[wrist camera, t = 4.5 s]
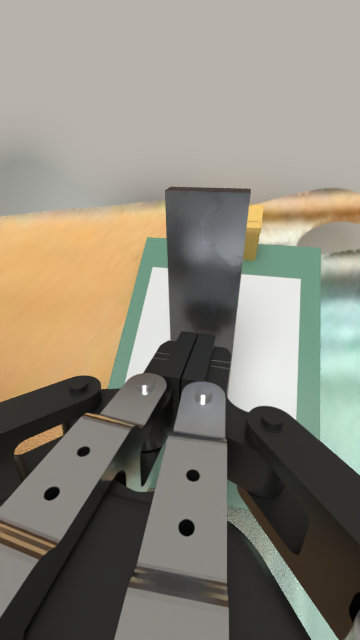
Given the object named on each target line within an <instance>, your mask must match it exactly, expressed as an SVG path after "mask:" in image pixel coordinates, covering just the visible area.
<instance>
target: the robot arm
mask: <svg viewBox="0 0 360 640" xmlns="http://www.w3.org/2000/svg"><path fill="white" fill-rule="evenodd" d="M230 363H231V353H230V352H229V350H228V349H227V348H223V347H216V335H211V334H202V333H199V334H198V333H194V332H186V331H181V333H180V335H179V336H178V338H177V340H176V341H169V340H168V341H166V342H165V343H163V344H161V345H160V346H159V348H158V350H157V351H156V353H155V354H154V356H153V358H152V359H151V361H150V363H149V364H148V366H147V367H146V369H145V371H144V372H143V373H142V374H137V375H134V376H132V377H131V378H129V379H128V380H127V381H126V383H125V384H124V385H123V386H122V387H121V388H116V389H101V383H100V381H99V380H98V379H96V378H95V377H92V376H76V377H72V378H69V379H66V380H63V381H61V382H58V383H55V384H52V385H49V386H46V387H43V388H40V389H38V390H35V391H32V392H29V393H26V394H23V395H20V396H17V397H15V398H12V399H9V400H6V401H3V402H0V640H311V638H310V637H309V635H308V633H307V632H306V630H305V628H304V627H303V625H302V623H301V622H300V620H299V618H298V617H297V615H296V613H295V612H294V610H293V608H292V607H291V605H290V603H289V601H288V600H287V598H286V596H285V595H284V593H283V591H282V590H281V588H280V586H279V585H278V583H277V581H276V580H275V578H274V576H273V575H272V573H271V571H270V570H269V568H268V566H267V564H266V563H265V561H264V559H263V558H262V556H261V555H260V553H259V552H258V550H257V549H256V548H255V546H254V545H253V544H252V542H251V541H250V540H249V539H248V538H247V537H246V536H245V535H244V534H243V533H242V532H241V531H240V530H239V529H238V528H237V527H235V526H234V525H233V524H232V523H230V522H229V521H227V480H229V481H231V482H233V483H235V484H237V490H238V493H239V495H240V497H241V498H242V500H243V501H244V503H245V504H246V506H247V507H248V508H249V510H250V511H251V513H252V514H253V516H254V517H255V519H256V520H257V522H258V523H259V524H260V526H261V527H262V529H263V530H264V532H265V533H266V535H267V536H268V538H269V539H270V540H271V542H272V543H273V545H274V546H275V548H276V549H277V551H278V552H279V554H280V555H281V556H282V558H283V559H284V561H285V562H286V564H287V565H288V567H289V568H290V569H291V571H292V572H293V574H294V575H295V577H296V578H297V580H298V581H299V583H300V584H301V585H302V587H303V588H304V590H305V591H306V593H307V594H308V596H309V597H310V599H311V600H312V601H313V603H314V604H315V606H316V607H317V609H318V610H319V612H320V613H321V615H322V616H323V617H324V619H325V620H326V622H327V623H328V625H329V626H330V628H331V629H332V630H333V632H334V633H335V635H336V636H337V638H338V639H339V640H360V475H359V474H358V473H356V472H355V471H354V470H353V469H352V468H351V467H349V466H348V465H347V464H346V463H345V462H344V461H343V460H341V459H340V458H339V457H338V456H337V455H336V454H334V453H333V452H332V451H331V450H330V449H329V448H327V447H326V446H325V445H324V444H323V443H322V442H321V441H319V440H318V439H317V438H316V437H315V436H314V435H312V434H311V433H310V432H309V431H308V430H307V429H306V428H304V427H303V426H302V425H301V424H300V423H299V422H297V421H296V420H295V419H294V418H293V417H292V416H291V415H289V414H288V413H287V412H285V411H283V410H281V409H279V408H276V407H272V406H258V407H255V408H253V409H252V410H250V411H249V412H247V411H244V410H242V409H240V408H238V407H236V406H235V405H234V404H232V403H231V402H230V400H229V399H228V397H227V389H228V380H229V372H230ZM61 424H62V430H63V436H61V437H59V438H57V439H55V440H52V441H50V442H48V443H46V444H44V445H42V446H39V447H37V448H35V449H33V450H31V451H28V452H26V453H24V454H21V455H14V451H15V449H16V447H17V446H18V445H19V444H20V443H21V442H22V441H24V440H26V439H28V438H31V437H33V436H35V435H37V434H40V433H42V432H44V431H47V430H49V429H51V428H54V427H56V426H58V425H61ZM167 438H168V440H167ZM166 441H167V444H166ZM163 455H164V456H163ZM162 457H163V460H162V464H161V468H160V472H159V476H158V480H157V484H156V489H155V492H147V491H148V489H149V486H150V484H151V482H152V480H153V477H154V475H155V473H156V471H157V468H158V466H159V464H160V461H161V459H162Z"/></svg>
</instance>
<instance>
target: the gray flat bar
mask: <svg viewBox="0 0 360 640" xmlns="http://www.w3.org/2000/svg"><path fill="white" fill-rule="evenodd" d="M250 193H251V189H235V188H199V187H169V188H168V189H166V190H165V202H166V230H167V259H168V287H169V315H170V341H176V340H177V338H178V336H179V335H180V333H181V331H186V332H194V333H198V334H199V333H202V334H211V335H216V347H223V348H227V349H228V350H229V352H230V353H231V362H232V353H233V344H234V335H235V326H236V317H237V308H238V299H239V290H240V282H241V273H242V264H243V255H244V246H245V237H246V228H247V219H248V210H249V202H250ZM230 370H231V363H230ZM229 379H230V372H229ZM228 388H229V380H228ZM227 397H228V389H227Z"/></svg>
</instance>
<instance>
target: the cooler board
mask: <svg viewBox="0 0 360 640" xmlns="http://www.w3.org/2000/svg"><path fill="white" fill-rule="evenodd" d="M262 214H263V206H259V205H249V210H248V219H247V228H246V237H245V246H244V255H243V264H242V273H241V282H240V290H239V299H238V308H237V317H236V326H235V335H234V344H233V353H232V362H231V370H230V379H229V388H228V399H229V400H230V402H231V403H232V404H234V405H235V406H236V407H238V408H240V409H242V410H244V411H247V412H249V411H250V410H252V409H253V408H255V407H258V406H272V407H276V408H279V409H281V410H283V411H285V412H287V413H288V414H289V415H291V416H292V417H293V418H294V419H295V420H296V421H297V422H299V423H300V424H301V425H302V426H303V427H304V428H306V429H307V430H308V431H309V432H310V433H311V434H312V435H314V436H315V437H316V438H317V439H318V440H319V441H320V283H321V248H311V247H296V246H280V245H263V244H258V241H259V235H260V232H261V225H262ZM168 340H169V341H170V315H169V287H168V259H167V239H165V238H149V237H147V240H146V244H145V248H144V252H143V255H142V259H141V263H140V267H139V271H138V275H137V279H136V282H135V286H134V290H133V294H132V298H131V302H130V305H129V309H128V313H127V317H126V321H125V325H124V328H123V332H122V336H121V340H120V344H119V348H118V351H117V355H116V359H115V363H114V367H113V371H112V374H111V378H110V382H109V386H108V389H116V388H121V387H122V386H123V385H124V384H125V383H126V381H127V380H128V379H129V378H131V377H132V376H134V375H137V374H142V373H143V372H144V371H145V369H146V367H147V366H148V364H149V363H150V361H151V359H152V358H153V356H154V354H155V353H156V351H157V350H158V348H159V346H160V345H161V344H163V343H165V342H166V341H168ZM167 440H168V438H167ZM166 444H167V441H166ZM163 456H164V455H163ZM162 460H163V457H162V459H161V461H160V464H159V466H158V468H157V471H156V473H155V475H154V477H153V480H152V482H151V484H150V486H149V488H153V489H156V484H157V480H158V476H159V472H160V468H161V464H162ZM227 506H231V507H236V508H240V509H245V510H249V508H248V507H247V506H246V504H245V503H244V501H243V500H242V498H241V497H240V495H239V493H238V490H237V484H235V483H233V482H231V481H229V480H227ZM249 511H250V510H249Z"/></svg>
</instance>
